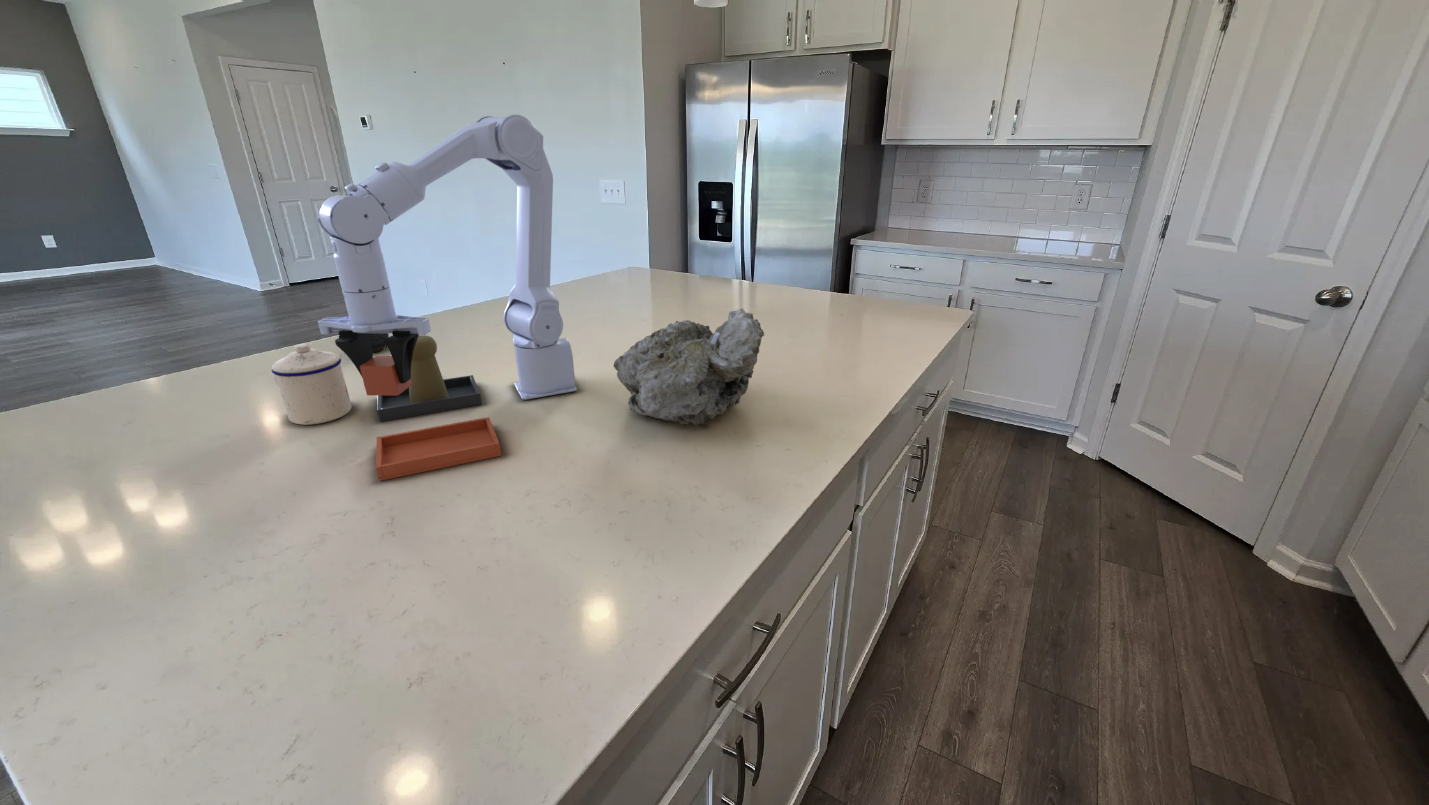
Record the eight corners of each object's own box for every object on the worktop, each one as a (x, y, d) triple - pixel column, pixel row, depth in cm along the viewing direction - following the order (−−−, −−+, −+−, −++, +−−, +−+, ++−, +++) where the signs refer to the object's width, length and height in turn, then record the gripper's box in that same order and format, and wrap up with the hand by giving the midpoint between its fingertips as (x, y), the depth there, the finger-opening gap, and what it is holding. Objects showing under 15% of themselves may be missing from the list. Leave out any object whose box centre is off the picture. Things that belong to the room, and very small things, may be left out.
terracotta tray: (491, 428, 90) (489, 416, 89) (501, 455, 82) (499, 443, 81) (379, 449, 83) (376, 437, 83) (379, 481, 76) (375, 467, 75)
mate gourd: (381, 342, 129) (371, 297, 125) (399, 348, 125) (389, 302, 121) (346, 350, 123) (334, 304, 119) (364, 357, 119) (352, 309, 115)
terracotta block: (366, 395, 84) (359, 366, 82) (382, 383, 88) (376, 355, 86) (398, 395, 84) (391, 366, 82) (412, 384, 88) (406, 355, 86)
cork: (434, 408, 95) (421, 344, 91) (401, 404, 97) (387, 341, 92) (456, 394, 101) (445, 333, 96) (425, 391, 102) (413, 330, 98)
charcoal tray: (474, 385, 106) (472, 374, 105) (481, 404, 98) (480, 393, 98) (380, 399, 100) (377, 388, 99) (379, 421, 92) (377, 410, 91)
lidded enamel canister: (366, 406, 97) (349, 339, 92) (318, 429, 89) (296, 357, 84) (311, 397, 100) (292, 332, 96) (259, 419, 92) (235, 349, 88)
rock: (670, 301, 106) (762, 273, 86) (716, 379, 112) (812, 369, 92) (572, 375, 94) (652, 362, 74) (628, 458, 100) (717, 466, 80)
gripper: (294, 294, 76) (321, 390, 82) (405, 295, 76) (425, 391, 82) (326, 283, 83) (349, 372, 88) (429, 283, 83) (446, 373, 88)
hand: (388, 380), depth 85 cm, fingers closed on terracotta block, 4 cm apart
